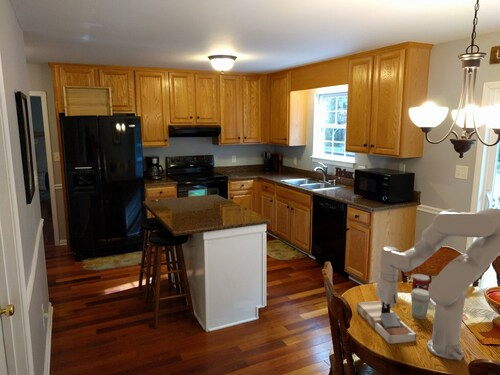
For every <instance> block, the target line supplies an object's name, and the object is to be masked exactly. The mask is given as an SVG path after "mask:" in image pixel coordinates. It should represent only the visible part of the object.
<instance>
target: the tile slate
mask: <svg viewBox="0 0 500 375" xmlns="http://www.w3.org/2000/svg"><path fill="white" fill-rule="evenodd" d="M395 314H396V313H395V311H393V312H392V313H382V314H381V315H380V318H381V320H382V323H383V325H384V327H385V328H384V329H385V330H386V331H387V329H391V328H399V327H400V323H399V321H398V319H397V317H396V315H395Z"/></svg>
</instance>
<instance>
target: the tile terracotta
mask: <svg viewBox="0 0 500 375" xmlns="http://www.w3.org/2000/svg"><path fill="white" fill-rule="evenodd" d="M386 331H387V332H388V333H389V334H390V335H399V334H408V329H407V327H401V328H391V329H386Z"/></svg>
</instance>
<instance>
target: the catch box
mask: <svg viewBox="0 0 500 375" xmlns="http://www.w3.org/2000/svg"><path fill="white" fill-rule="evenodd" d="M399 323H400V327H399V328H401V327H407V329H408V334H399V335H390V334H389V333H388V332H387V329H386V330H385V328H383V327H382V326H381V325H380V324H379V323H375V329H374V330H375V331H376V332H377V333H378V334H379V335H380V336H381V337H382V338H383V339H384V340H385V341H386V342H387V343H388V344H398V343H399V344H400V343H409V342H416V341H417V333H416V332H415V331H414V330H413V329H412V328H410V326H408V325H407V324H406V323H405V322H403V321H402V320H401V319H400V320H399Z"/></svg>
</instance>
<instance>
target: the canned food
mask: <svg viewBox="0 0 500 375" xmlns="http://www.w3.org/2000/svg"><path fill="white" fill-rule="evenodd" d="M430 278H431V277H430V276H429V275H426V274H421V273H415V274H413V276H412V284H411V286H412V287H411V291H412V290H413V289H424V290H427V291H428V289H429V285H430V282H431V281H430V280H431V279H430Z"/></svg>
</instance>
